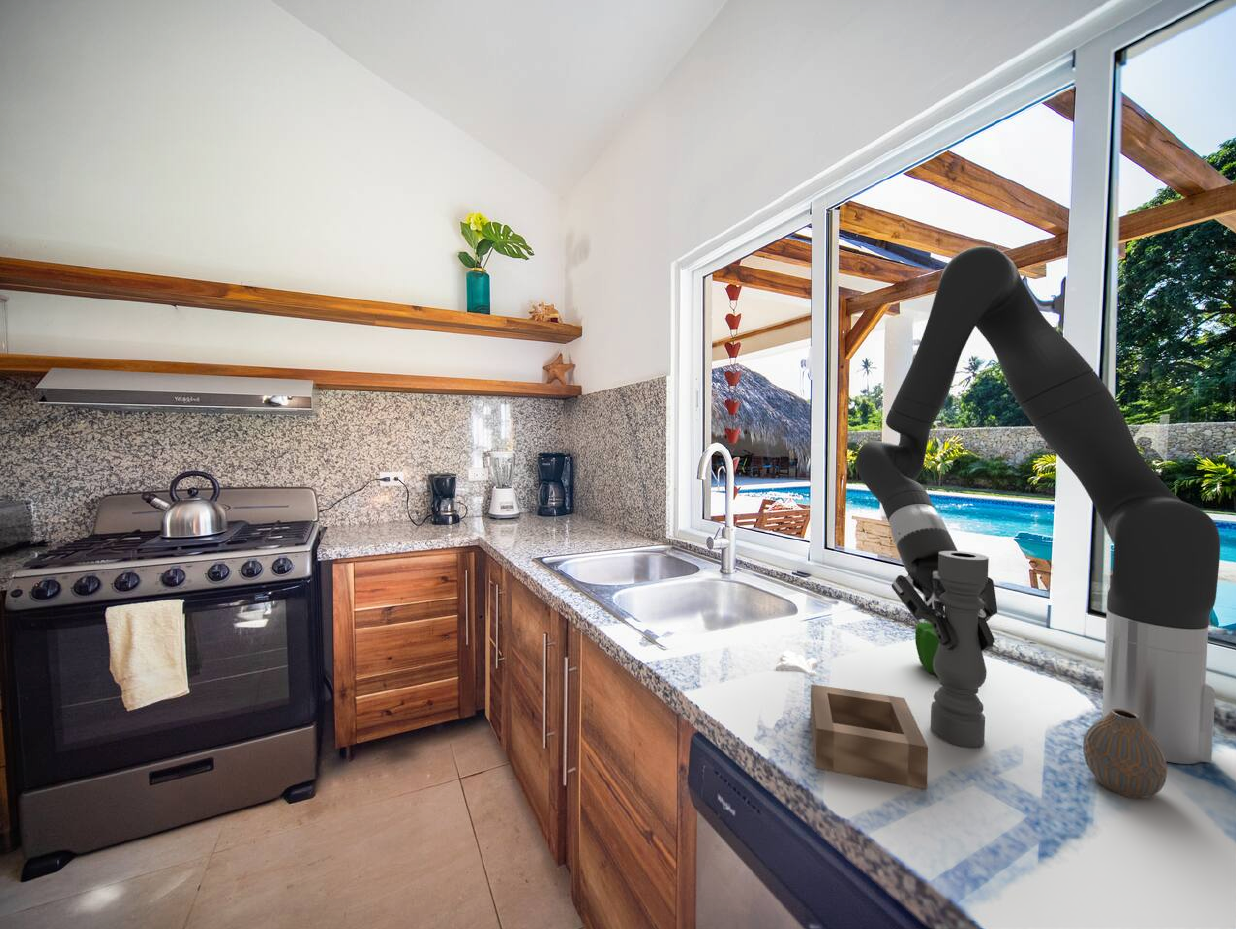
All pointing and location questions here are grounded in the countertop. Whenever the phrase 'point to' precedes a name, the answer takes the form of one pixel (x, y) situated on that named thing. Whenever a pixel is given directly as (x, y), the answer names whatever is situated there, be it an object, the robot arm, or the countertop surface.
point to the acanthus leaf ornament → (797, 663)
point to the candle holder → (960, 651)
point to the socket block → (867, 736)
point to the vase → (1125, 755)
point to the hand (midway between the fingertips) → (969, 647)
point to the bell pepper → (926, 644)
